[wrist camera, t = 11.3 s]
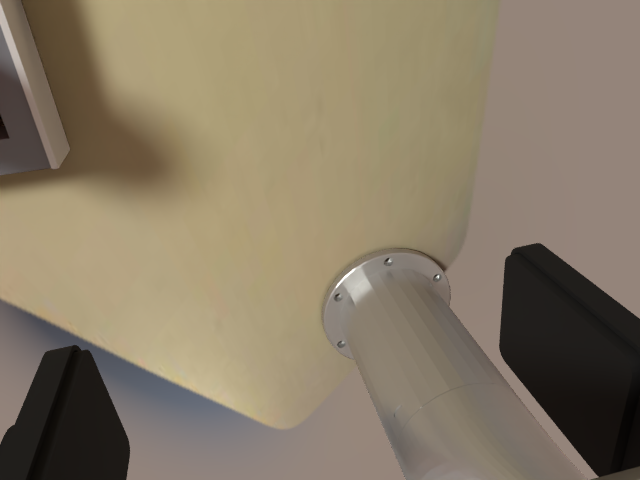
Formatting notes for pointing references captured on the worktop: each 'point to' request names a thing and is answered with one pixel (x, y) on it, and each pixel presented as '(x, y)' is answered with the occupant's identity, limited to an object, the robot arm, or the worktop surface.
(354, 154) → the worktop surface
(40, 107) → the frame
